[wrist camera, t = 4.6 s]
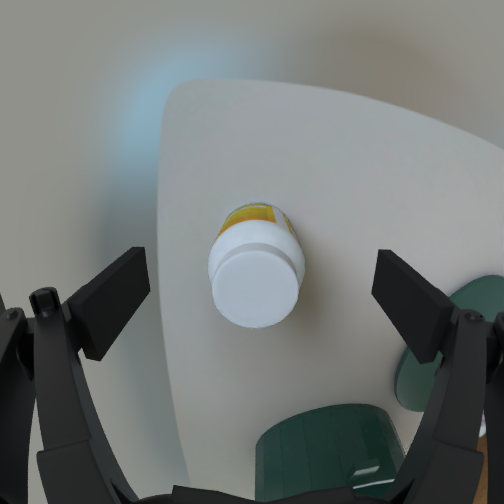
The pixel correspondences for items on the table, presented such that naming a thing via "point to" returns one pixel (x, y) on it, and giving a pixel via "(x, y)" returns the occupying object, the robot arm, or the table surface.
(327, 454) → the stewpot
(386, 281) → the robot arm
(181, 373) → the table surface
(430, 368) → the stewpot lid
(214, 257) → the supplement bottle
